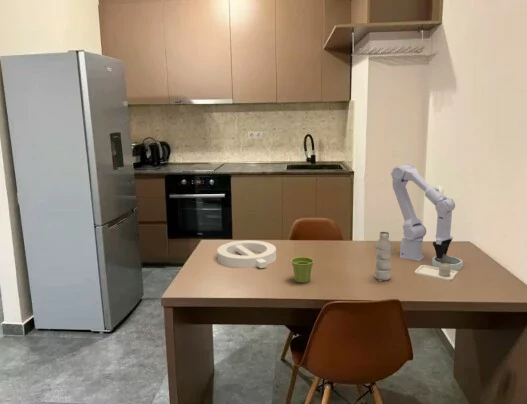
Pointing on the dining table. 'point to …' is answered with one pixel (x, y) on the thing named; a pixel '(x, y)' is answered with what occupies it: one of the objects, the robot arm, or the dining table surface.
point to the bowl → (451, 259)
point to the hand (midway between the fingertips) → (441, 255)
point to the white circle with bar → (246, 254)
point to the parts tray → (434, 272)
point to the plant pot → (302, 268)
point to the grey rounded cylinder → (444, 269)
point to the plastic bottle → (383, 257)
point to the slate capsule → (443, 260)
